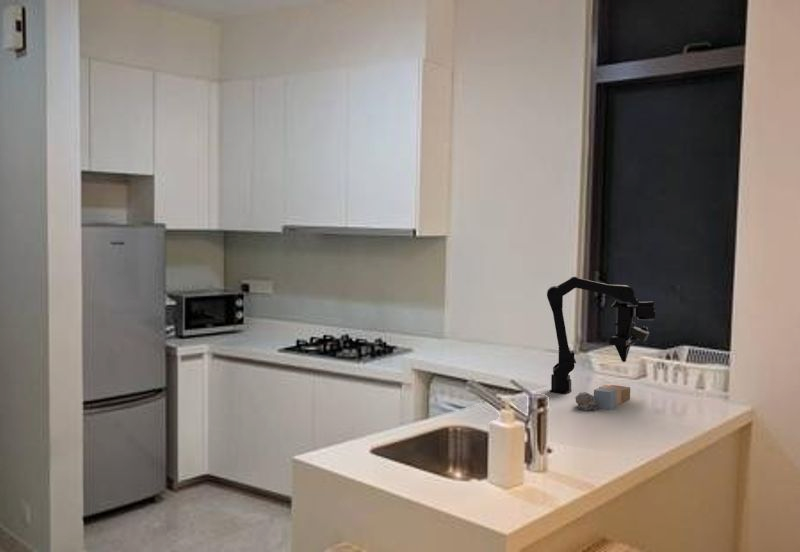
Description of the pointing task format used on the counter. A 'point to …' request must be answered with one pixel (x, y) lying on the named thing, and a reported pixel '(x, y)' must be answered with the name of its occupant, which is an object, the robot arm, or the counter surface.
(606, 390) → the light blue block
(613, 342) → the robot arm
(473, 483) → the counter surface
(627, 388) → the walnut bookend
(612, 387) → the terracotta clay cube
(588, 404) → the mineral specimen
